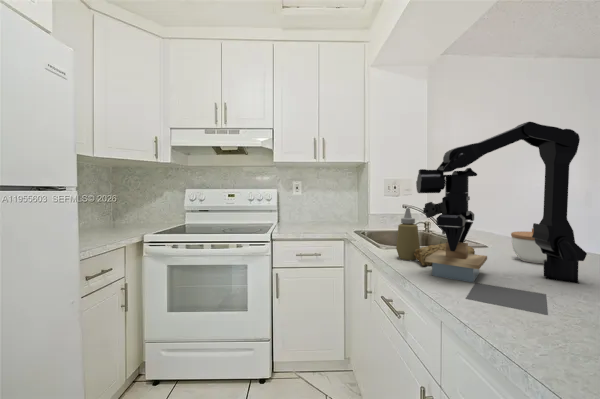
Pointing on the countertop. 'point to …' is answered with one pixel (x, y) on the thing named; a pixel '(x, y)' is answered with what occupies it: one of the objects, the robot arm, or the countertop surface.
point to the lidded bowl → (527, 247)
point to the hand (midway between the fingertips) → (456, 248)
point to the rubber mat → (509, 298)
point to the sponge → (431, 249)
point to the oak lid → (457, 257)
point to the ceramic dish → (454, 272)
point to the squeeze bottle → (407, 237)
